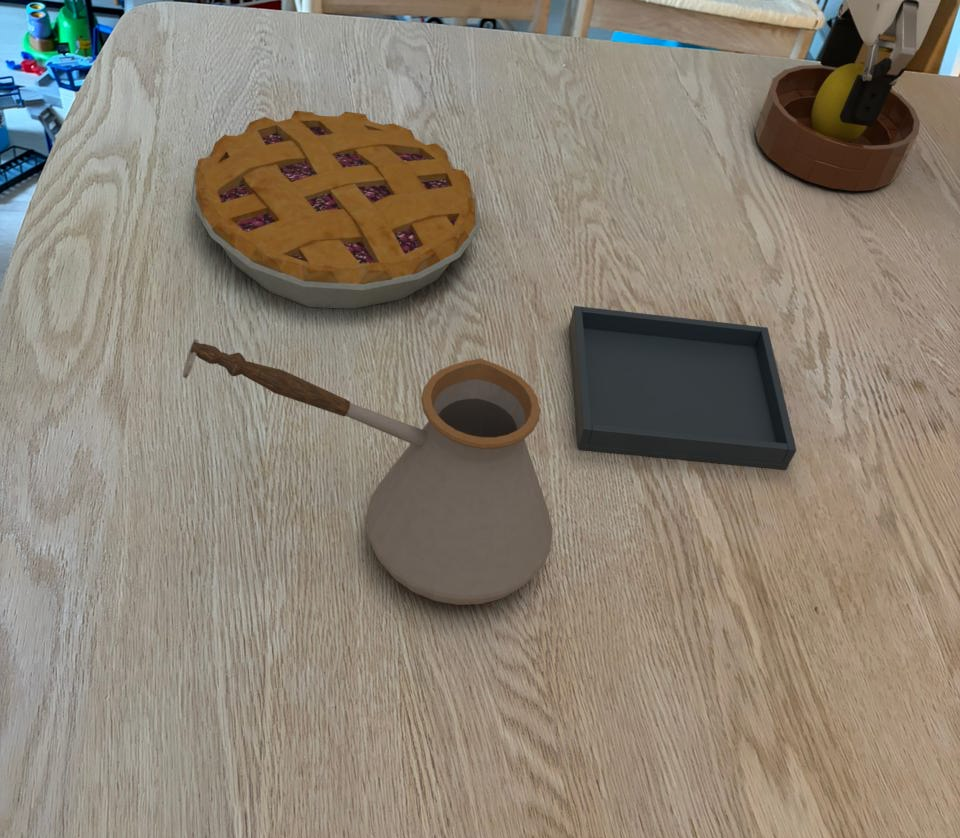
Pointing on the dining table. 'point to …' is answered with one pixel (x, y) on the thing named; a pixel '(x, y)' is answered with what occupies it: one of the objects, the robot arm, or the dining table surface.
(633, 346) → the tray
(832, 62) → the robot arm
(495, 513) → the coffee pot
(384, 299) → the pie
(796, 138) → the bowl
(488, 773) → the dining table surface
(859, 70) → the lemon
